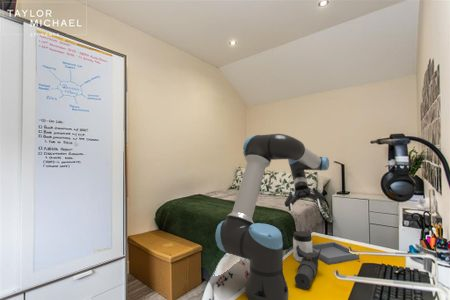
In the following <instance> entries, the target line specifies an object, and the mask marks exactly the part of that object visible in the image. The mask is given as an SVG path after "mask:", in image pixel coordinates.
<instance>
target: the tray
mask: <svg viewBox="0 0 450 300" xmlns="http://www.w3.org/2000/svg"><path fill="white" fill-rule="evenodd" d="M349 248H350V247H348V246H345V245H343V244H340V243H339V242H337V241H329V242H321V243H314V244H313V243H312V252H313V253H314V254H316V253H319V251H320V249H321V253H320V256H319V259H318V260H320V261H321V262H323V263H325V264H327V265H328V266H329V265H334V264H340V263H346V262H350V261H351V262H352V261H357V259H358V260H360V254H359V255H356V254H352V253H350V252H349ZM352 250H353V251H355V250H354V249H352Z"/></svg>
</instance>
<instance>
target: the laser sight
mask: <svg viewBox="0 0 450 300" xmlns="http://www.w3.org/2000/svg"><path fill="white" fill-rule="evenodd" d="M296 250H297V254H298V256H299V257H303V258H302V260H301V262H300V263H299V264H298V267H297V273H296V274H295V276H294V282H295V285H296V286H297V287H298V288H299V289H301V290H307V289H309V288H310V286H311V284H312V281H313V279H314V278H315V277H316V273H317V271H318V267H319V260H320V259H319V256H320V253H321V249H320V251H319V253H316V254H314V253H312V252H311V253H310V252H309V253H306V252H303V251H302V250H301V249H300V248H299V245H298V246H297V247H296Z"/></svg>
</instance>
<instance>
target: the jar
mask: <svg viewBox="0 0 450 300" xmlns="http://www.w3.org/2000/svg"><path fill="white" fill-rule="evenodd" d="M292 245H293V246H292V248H293V252H292V254H293V258H294V261H296V262H301V260H302V258H303V257H299V256H298V254H297V250H296V247H297V246H298V245H299V248H300V249H301V250H302V251H303V252H306V253H309V252H310V253H311V252H312V245H313V240H312V233H311V232H308V231H304V230H297V231H294V232H293V237H292ZM312 253H313V252H312Z"/></svg>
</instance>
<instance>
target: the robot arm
mask: <svg viewBox="0 0 450 300" xmlns="http://www.w3.org/2000/svg"><path fill="white" fill-rule="evenodd" d="M242 149H243V152H242V154H243V156H244V160H245V162H246V165H245V168H244V172H243V175H242V178H241V181H240V185H239V188H238V192H237V195H236V198H235V201H234V205H233V208H232V211H231V212H230V213H229V214H227V215H226V219H225V220H222V221H221V222H220V223H218V225H217V227H216V229H215V242H216V246H217V248H219V250H220V251H222V252H224V253H226V254H229V255H234V256H236V257H240V258H242V259H245V260H249V272H248V275H247V279H246V282H245V285H244V287H245V290H244V291H245V292H244V293H246V294H245V296H246V297H247V299H248V300H289V299H288V298H289V287H288V284H287V281H286V278H285V275H284V271H283V270H284V266H283V265H284V264H283V263H284V262H283V261H284V258H283V246H284V242H283V235H282V232H281V230H280V229H279V228H277V227H276V226H274V225H271V224H267V223H261V222H257V223H255V222H254V221H253V218H254V217H253V216H254V212H255V209H256V205H257V201H258V198H259V194H260V191H261V186H262V182H263V179H264V174H265V171H266V168H268V167H270V165H271V162H272V161H273V160H275V161H277V160H287V162H288V165H289V168H290V171H291V176H292V179H293V180H292V181H293V185H294V192H292V191H289V195H288V196H287V198H286V199H285V201H284V207H285V208H288V210H289V211H290V214H291V216H292V217H294V215H295V213H294V207H293V206H294V204H295V203H296V202H297V201H299V200H300V199H306V198H309V199H312V200H314V201H317V205H318V207H319V212H320V213H321V212H322V210H323V209H322V206H323V202H325V201H326V199H325V196H324V195H323V194H322V193H320V191H318V190H316V188H315V187H312V189H310V188H309V184H308V180H307V177H306V175H307V174H306V171H328V170H329V167H330V160H329V157H327V156H319V155H318V154H316V153H314V152H313V151H312V150H310V149H308V147H306V146H305V145H304V143H303V142H302V141H300V140H299V139H298V138H296V137H293V136H291V135H288V134H284V133H272V134H271V133H270V134H255V135H251V136H249V137H247V138H246V139H245V141H244V143H243V146H242Z"/></svg>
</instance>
